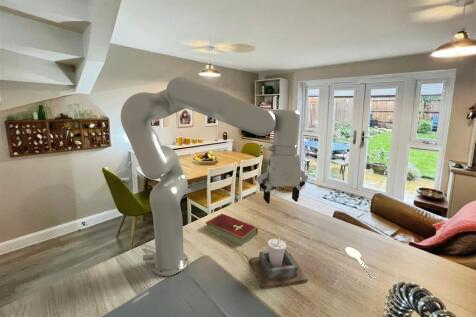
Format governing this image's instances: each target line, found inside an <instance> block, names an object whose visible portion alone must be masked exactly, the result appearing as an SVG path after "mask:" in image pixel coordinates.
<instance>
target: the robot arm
mask: <svg viewBox="0 0 476 317" xmlns="http://www.w3.org/2000/svg"><path fill="white" fill-rule="evenodd" d="M166 85H167V86H166V88H165V89H162V90H161V91H159V92H156V93H153V92H148V91H147V92H146V91H145V92H138V93H134V94H132V95H131V96H130V97H128V99H126V101H125V102H124V103H123V105H122V107H121V110H120V122H121V126H122V128H123V131H124V133H125V135H126V137H127V139H128V141H129V143H130V146H131V149H132V150H133V153H134V156H135V158H136V161H137V163H138V165H139V168H140V170H141V172H142V174H143V175H144V177H145V178H147V179H149V180H153V181H154V180H160V181H159V182H157V183H156V184H155V186H153V188H152V189H151V191H150V194H149V204H150V208H151V213H152V220H153V232H154V246H155V247H154V248H155V252H153V253H151V254H143V256H142V261H143V262H144V261H145V265H149V264H151V268H152V272H153V273H155V274H156V275H158V276H160V277H161V276H162V277H170V276H174V274H175V275H177V274H176V273H178V272H179V273H181V272H183V271H184V270H186V268H187V267H188V264H189V256H188V255H187V254H186V253H185V250H184V230H183V228H184V227H183V226H184V225H183V213H182V209H181V201H182V199H183V197H184V196H185V194H186V193H187V191H188V188H189V187H188V186H189V183H188V179H187V176H186V174H185V172H184V171H185V170H184V168H183V166H182V163H181V161H180V158H179V157H178V154H177V152H176V151H175V150H174V149H173V148H172V147H170V146H167V145H162V144H161V141H160V138H159V136H158V134H157V132H156V131H155V129H154V128H153V126H152V121H156V120H161V119H165V118H167V117H170V116H172V115H174V114H176V113H179V112H181V111H183V110H185V109H187V110H190V111H193V112H195V113H199V114H201V115H204V116H206V117H209V118H211V119H214V120H216V121H219V122H222V123H225V124H226V125H229V126H232V127H234V128H237V129H238V130H241V131H245V132H248V133H250V134H253V135H257V136H262V137H263V136H268V135H270V134H271V133H272V132H273V135H272V136H273V138H272V140H273V141H272V145H270V146H268V152H271V153H270V155H269V158H268V163H267V168H266V172H264V173H262V174H260V175H258V176H256V181H257V183H258V186H260V187H261V188H262V190H263V201H265V202H266V204H267V205H268V204H270V203H271V202H270V201H271V189H272V188H282V187H283V188H284V187H285V188H287V187H292V192H291V199H292V200H293V201H294V202H297V203H298V202H299V198H300V191H301V190H302V188H303V187H304V186H305V185H306V182H307V181H308V180H309V176H308V175H307V174H305V173H303V172H302V170H301V157H300V154H298V148H299V147H298V145H299V134H300V120H301V113H300V112H299V110H296V109H269V108H264V107H261V106H258V105H256V104H252V103H250V102H248V101H244V100H242V99H240V98H237V97H234V96H233V95H232V94H229V93H227V92H225V91H224V90H220V89H217V88H215V87H212V86H210V85H208V84H207V85H206V84H204V83H201V82H199V81H195V80H193V79H190V78H187V77H183V76H175V77H173V78H172V79H171V80H169V81H168V84H166ZM265 179H266V182H265V183H263V180H265ZM183 269H184V270H183ZM182 270H183V271H182ZM180 271H181V272H180ZM179 273H178V274H179Z"/></svg>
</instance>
